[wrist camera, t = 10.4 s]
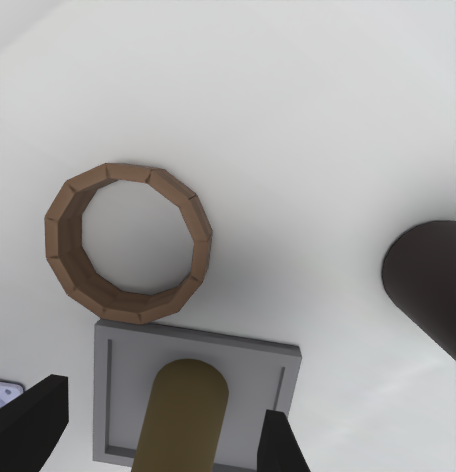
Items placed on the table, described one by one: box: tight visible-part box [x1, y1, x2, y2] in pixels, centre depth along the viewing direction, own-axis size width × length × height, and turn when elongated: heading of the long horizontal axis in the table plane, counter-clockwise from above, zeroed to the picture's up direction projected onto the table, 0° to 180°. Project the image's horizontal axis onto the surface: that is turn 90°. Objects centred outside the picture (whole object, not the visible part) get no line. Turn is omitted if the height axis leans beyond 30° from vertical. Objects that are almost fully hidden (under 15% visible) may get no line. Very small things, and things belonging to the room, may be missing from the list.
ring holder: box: [45, 163, 213, 325], centre depth 18 cm, size 10×10×2 cm
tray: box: [93, 318, 302, 472], centre depth 22 cm, size 15×13×1 cm
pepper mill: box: [131, 358, 229, 472], centre depth 16 cm, size 6×6×11 cm
